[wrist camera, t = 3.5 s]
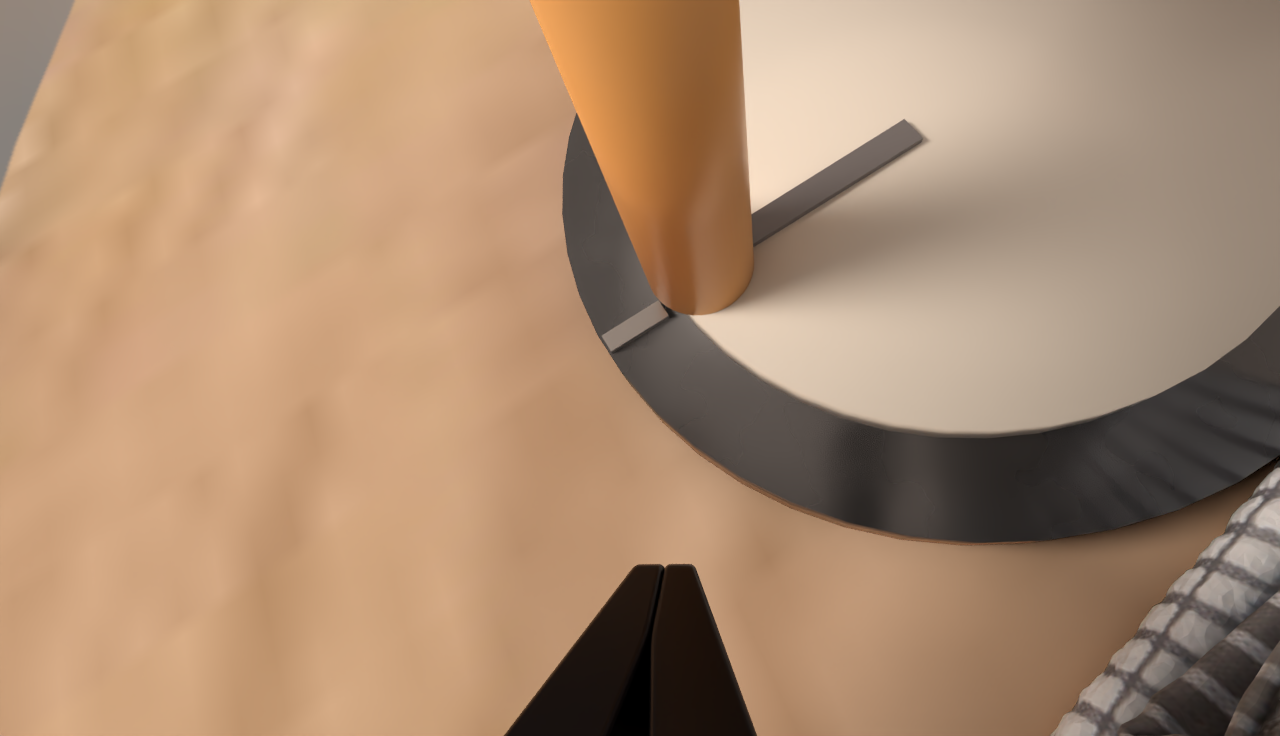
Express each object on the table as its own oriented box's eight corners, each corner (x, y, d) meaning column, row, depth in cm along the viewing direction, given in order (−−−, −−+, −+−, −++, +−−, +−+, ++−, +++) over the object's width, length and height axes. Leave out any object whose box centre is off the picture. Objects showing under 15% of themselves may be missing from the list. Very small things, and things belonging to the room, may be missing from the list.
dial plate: (1601, 341, 15) (1699, 314, 14) (725, 673, 17) (720, 684, 15) (1060, -186, 24) (1082, -243, 22) (501, 69, 25) (483, 34, 24)
